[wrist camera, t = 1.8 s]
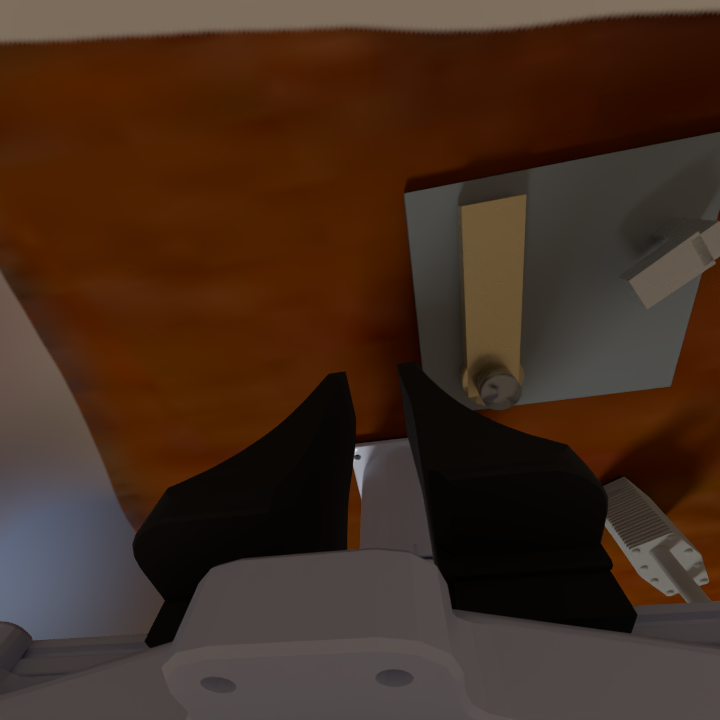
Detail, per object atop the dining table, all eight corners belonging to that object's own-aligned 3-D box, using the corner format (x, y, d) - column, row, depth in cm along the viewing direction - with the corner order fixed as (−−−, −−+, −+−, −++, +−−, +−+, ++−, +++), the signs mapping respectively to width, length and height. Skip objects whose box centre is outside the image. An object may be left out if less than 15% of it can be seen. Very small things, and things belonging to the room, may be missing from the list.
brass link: (516, 392, 22) (522, 401, 21) (460, 400, 22) (464, 408, 21) (524, 193, 16) (533, 193, 16) (450, 206, 17) (455, 207, 16)
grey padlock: (579, 494, 27) (682, 644, 18) (629, 470, 26) (767, 620, 17) (616, 538, 29) (724, 691, 20) (664, 518, 28) (802, 673, 19)
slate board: (663, 381, 22) (670, 386, 21) (426, 410, 24) (427, 416, 23) (729, 129, 16) (742, 127, 15) (403, 193, 17) (404, 193, 17)
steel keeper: (615, 295, 19) (647, 309, 17) (597, 270, 18) (628, 281, 16) (688, 243, 18) (734, 250, 15) (672, 214, 17) (717, 217, 15)
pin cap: (513, 396, 20) (521, 407, 19) (476, 400, 21) (482, 412, 19) (514, 364, 19) (522, 374, 18) (475, 369, 20) (481, 380, 18)
